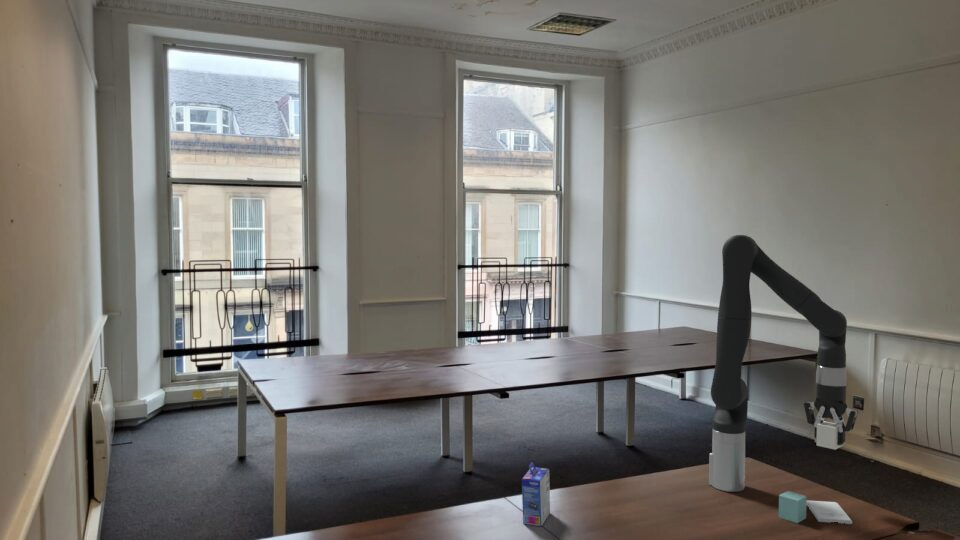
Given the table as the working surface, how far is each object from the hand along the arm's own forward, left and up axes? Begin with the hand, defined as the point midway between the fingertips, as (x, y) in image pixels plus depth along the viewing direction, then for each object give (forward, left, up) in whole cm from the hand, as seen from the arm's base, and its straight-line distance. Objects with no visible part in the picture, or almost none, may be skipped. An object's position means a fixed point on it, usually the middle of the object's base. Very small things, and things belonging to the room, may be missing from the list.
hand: (829, 442), depth 189 cm
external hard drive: (+3, -7, -18) cm, 20 cm away
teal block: (-2, -17, -17) cm, 25 cm away
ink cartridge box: (-46, -69, -18) cm, 85 cm away
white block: (0, 0, -1) cm, 1 cm away
